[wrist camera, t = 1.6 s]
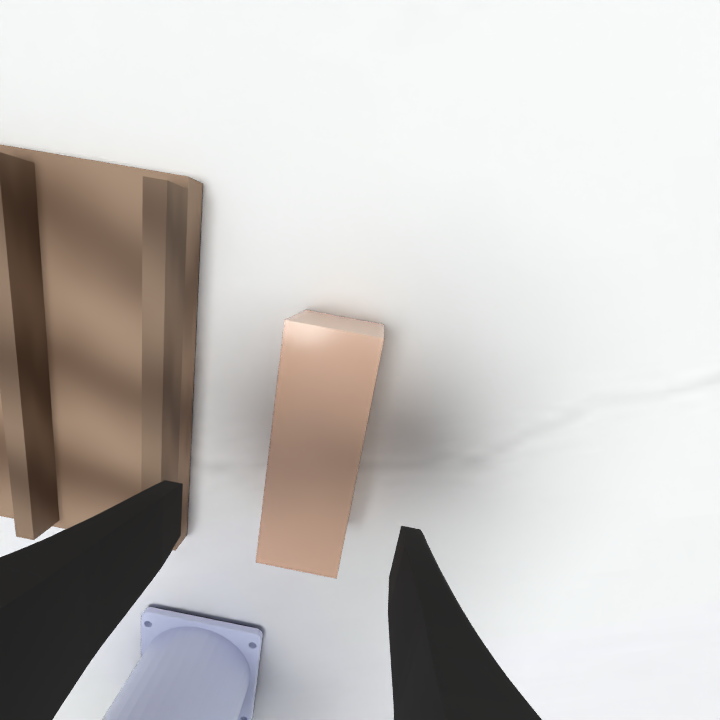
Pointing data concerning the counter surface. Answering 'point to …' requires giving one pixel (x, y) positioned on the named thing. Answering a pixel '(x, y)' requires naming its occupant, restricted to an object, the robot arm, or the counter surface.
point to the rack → (94, 335)
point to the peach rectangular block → (317, 439)
